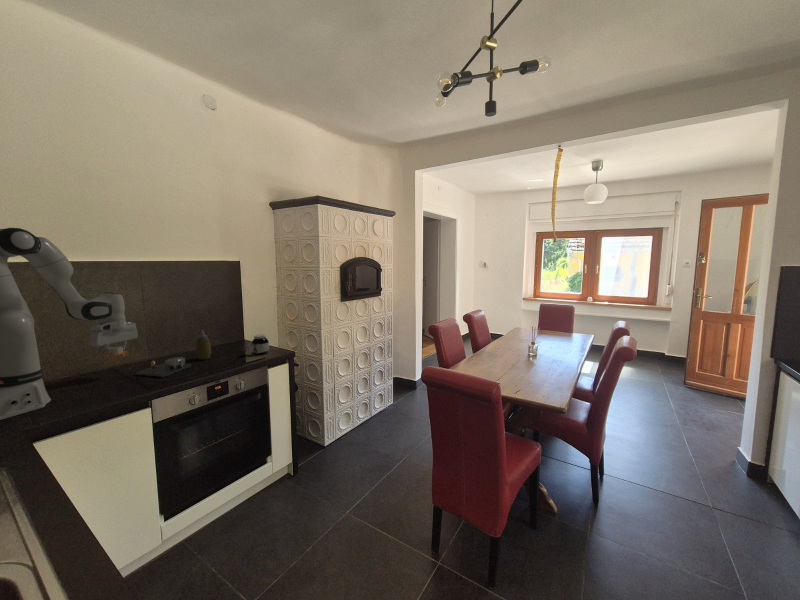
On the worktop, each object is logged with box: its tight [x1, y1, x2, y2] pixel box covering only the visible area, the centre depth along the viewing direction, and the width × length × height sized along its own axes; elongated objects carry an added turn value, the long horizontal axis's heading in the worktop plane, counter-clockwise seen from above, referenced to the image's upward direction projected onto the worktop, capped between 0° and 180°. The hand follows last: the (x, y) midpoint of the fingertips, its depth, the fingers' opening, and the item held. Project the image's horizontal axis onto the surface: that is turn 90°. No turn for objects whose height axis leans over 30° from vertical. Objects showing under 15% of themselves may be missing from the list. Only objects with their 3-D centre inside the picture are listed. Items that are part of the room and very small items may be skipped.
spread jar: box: [246, 333, 270, 356], centre depth 205 cm, size 12×11×12 cm
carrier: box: [136, 356, 192, 378], centre depth 174 cm, size 17×17×6 cm
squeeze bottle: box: [195, 328, 212, 361], centre depth 195 cm, size 8×8×18 cm
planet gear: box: [104, 345, 129, 359], centre depth 165 cm, size 9×9×4 cm
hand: (116, 350), depth 165 cm, fingers closed on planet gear, 5 cm apart
